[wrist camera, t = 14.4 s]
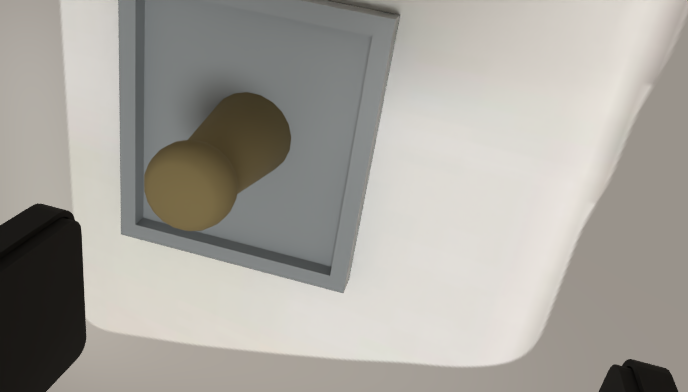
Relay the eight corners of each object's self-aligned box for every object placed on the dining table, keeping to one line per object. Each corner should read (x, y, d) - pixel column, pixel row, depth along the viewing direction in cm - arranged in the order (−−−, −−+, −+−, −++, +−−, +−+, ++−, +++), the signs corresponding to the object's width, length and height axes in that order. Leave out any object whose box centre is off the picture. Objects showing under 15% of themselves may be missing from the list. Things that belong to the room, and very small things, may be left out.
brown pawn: (202, 155, 43) (118, 223, 34) (219, 79, 41) (134, 128, 31) (278, 186, 43) (216, 263, 33) (301, 111, 40) (241, 171, 31)
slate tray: (134, -39, 39) (118, -37, 38) (400, 15, 37) (395, 19, 35) (134, 222, 48) (121, 234, 47) (348, 279, 46) (343, 293, 44)
